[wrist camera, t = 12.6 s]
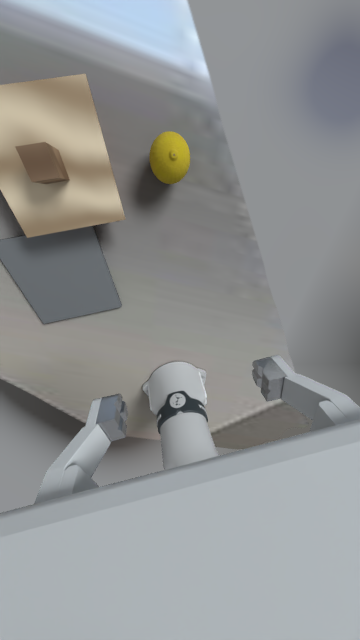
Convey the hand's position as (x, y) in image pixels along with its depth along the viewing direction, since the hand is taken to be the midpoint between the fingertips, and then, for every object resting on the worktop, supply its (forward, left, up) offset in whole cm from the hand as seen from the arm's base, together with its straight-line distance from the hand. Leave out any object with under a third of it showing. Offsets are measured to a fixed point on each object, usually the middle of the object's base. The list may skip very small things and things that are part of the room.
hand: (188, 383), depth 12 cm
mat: (-1, +17, -31) cm, 35 cm away
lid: (+14, +10, -26) cm, 31 cm away
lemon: (+13, -5, -31) cm, 34 cm away
